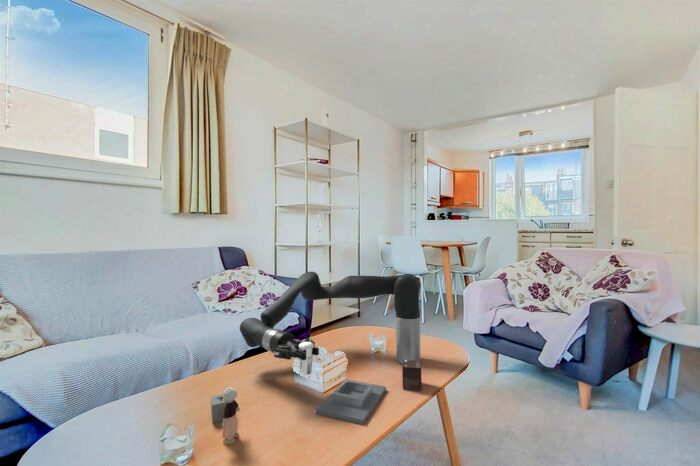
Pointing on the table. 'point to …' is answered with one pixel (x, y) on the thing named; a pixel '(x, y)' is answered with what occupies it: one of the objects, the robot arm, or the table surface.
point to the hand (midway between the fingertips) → (311, 354)
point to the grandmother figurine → (230, 416)
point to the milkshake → (306, 364)
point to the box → (411, 375)
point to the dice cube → (217, 408)
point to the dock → (352, 401)
